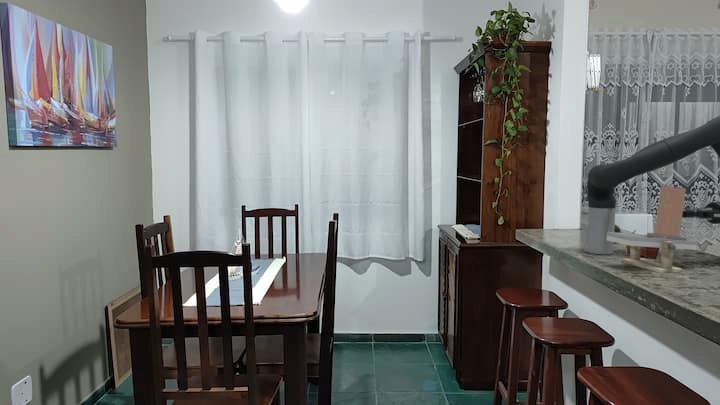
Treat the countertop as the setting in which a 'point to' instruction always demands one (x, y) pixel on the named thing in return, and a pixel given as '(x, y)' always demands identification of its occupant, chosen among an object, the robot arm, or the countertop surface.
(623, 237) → the beam
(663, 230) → the block
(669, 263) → the pivot stand
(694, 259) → the countertop surface
